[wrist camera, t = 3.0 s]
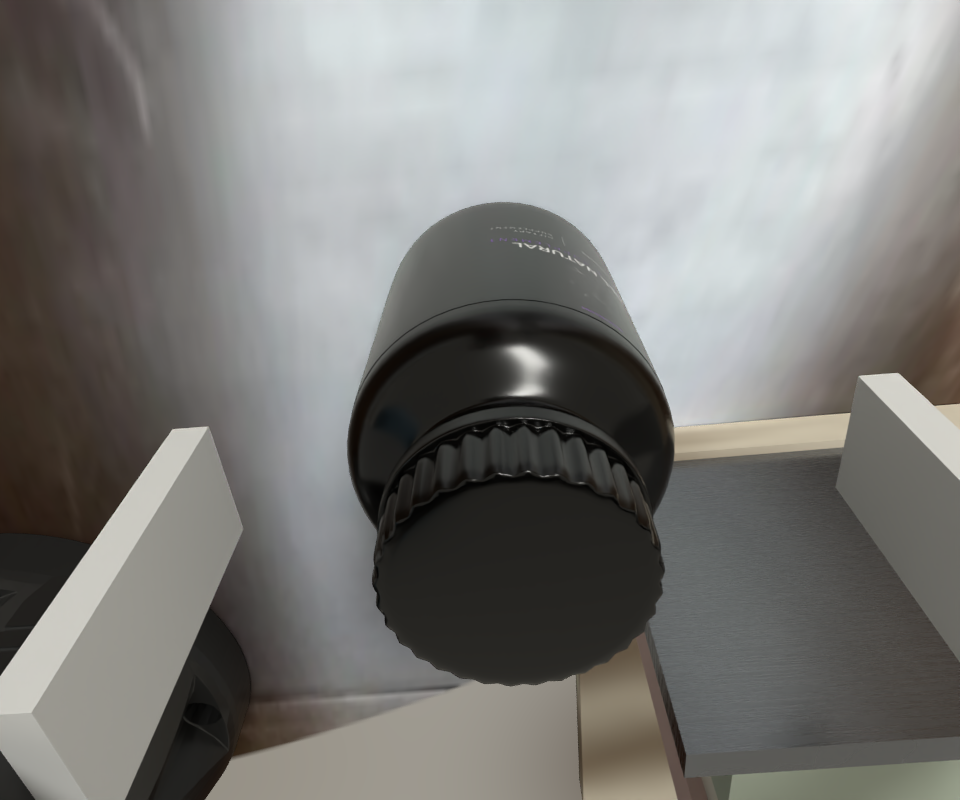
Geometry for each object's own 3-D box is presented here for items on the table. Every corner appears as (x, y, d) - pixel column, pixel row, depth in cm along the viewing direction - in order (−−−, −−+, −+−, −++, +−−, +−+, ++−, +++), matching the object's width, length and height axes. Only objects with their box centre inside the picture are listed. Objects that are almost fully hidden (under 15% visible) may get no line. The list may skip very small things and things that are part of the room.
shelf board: (871, 759, 34) (887, 790, 32) (579, 779, 34) (583, 810, 33) (984, 401, 24) (1014, 425, 22) (568, 436, 24) (573, 461, 23)
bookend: (973, 456, 23) (1278, 738, 14) (604, 486, 23) (684, 778, 15) (980, 436, 23) (1297, 713, 14) (604, 466, 23) (686, 755, 14)
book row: (912, 579, 26) (1154, 902, 17) (626, 601, 26) (710, 927, 17) (948, 458, 23) (1261, 765, 14) (629, 484, 23) (730, 798, 14)
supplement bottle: (608, 180, 20) (759, 390, 9) (612, 390, 23) (727, 712, 13) (367, 209, 20) (259, 441, 10) (407, 411, 24) (358, 742, 13)
